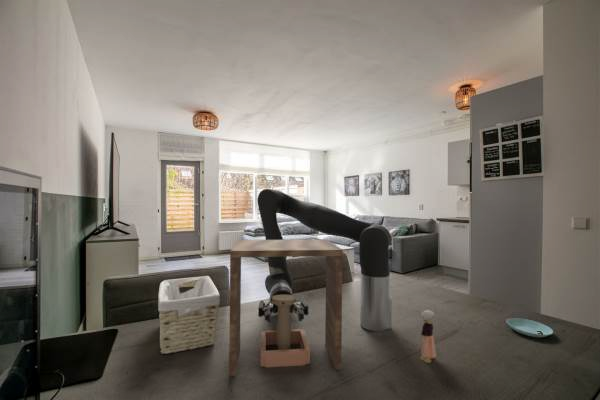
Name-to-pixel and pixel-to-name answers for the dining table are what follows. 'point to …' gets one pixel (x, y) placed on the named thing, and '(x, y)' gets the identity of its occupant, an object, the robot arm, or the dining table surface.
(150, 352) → the dining table surface
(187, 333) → the storage basket
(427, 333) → the grandmother figurine
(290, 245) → the wooden footstool
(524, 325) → the saucer
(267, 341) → the socket
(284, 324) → the handle
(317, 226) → the robot arm
